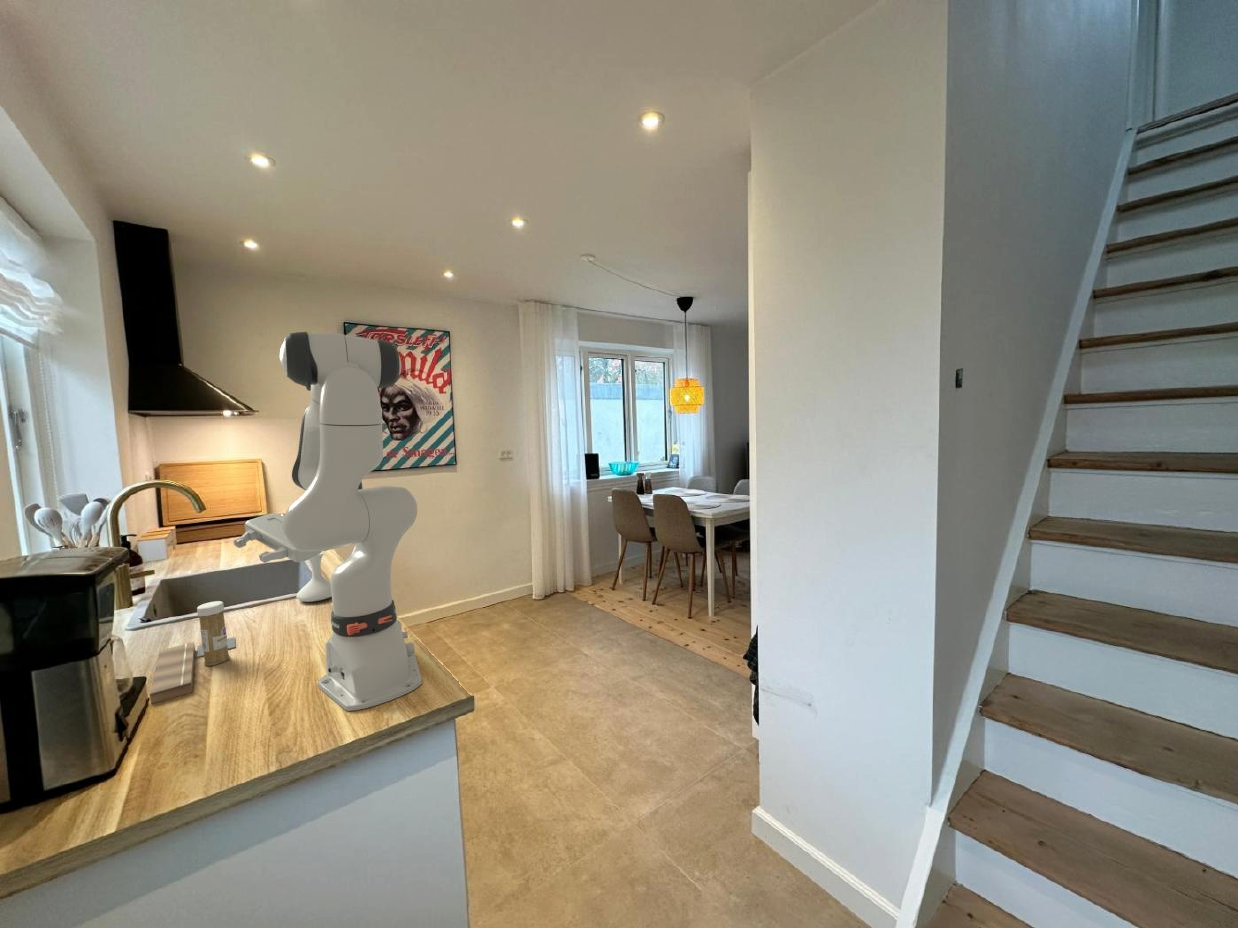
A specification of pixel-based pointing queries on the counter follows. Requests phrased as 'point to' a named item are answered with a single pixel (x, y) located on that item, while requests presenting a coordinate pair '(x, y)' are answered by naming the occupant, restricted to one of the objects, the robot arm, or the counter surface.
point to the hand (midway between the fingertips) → (248, 551)
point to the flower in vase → (315, 583)
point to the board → (173, 673)
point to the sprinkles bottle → (213, 632)
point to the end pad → (230, 645)
